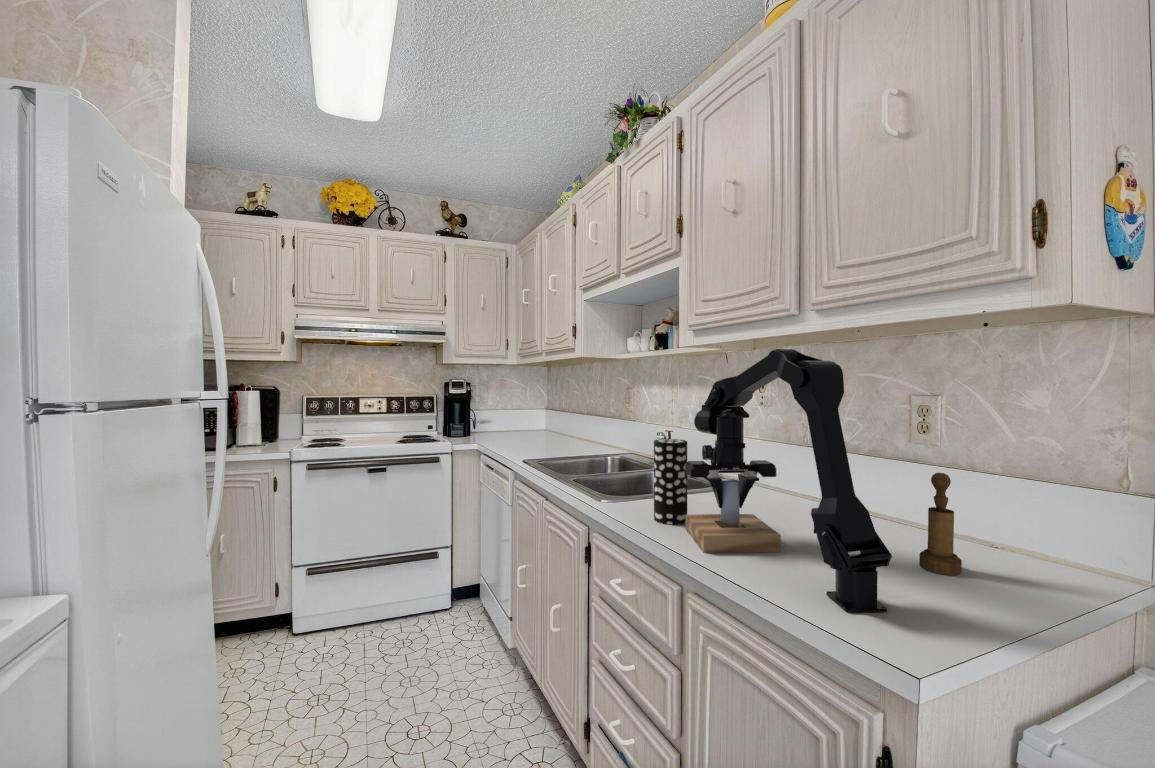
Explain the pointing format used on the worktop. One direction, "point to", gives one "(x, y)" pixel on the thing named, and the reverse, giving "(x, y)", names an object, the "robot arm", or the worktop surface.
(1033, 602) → the worktop surface
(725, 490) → the peg
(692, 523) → the socket board
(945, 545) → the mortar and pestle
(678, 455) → the spotted tube
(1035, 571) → the worktop surface
